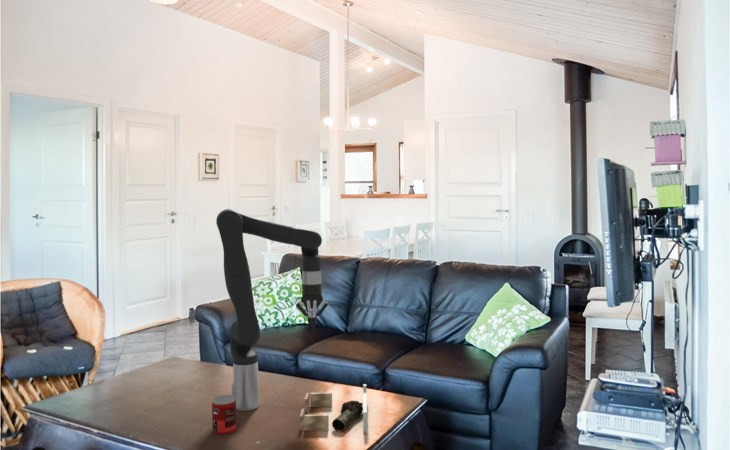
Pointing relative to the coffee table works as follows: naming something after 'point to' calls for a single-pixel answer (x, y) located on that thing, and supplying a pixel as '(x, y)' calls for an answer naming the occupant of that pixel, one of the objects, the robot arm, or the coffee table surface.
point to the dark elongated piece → (347, 415)
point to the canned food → (224, 414)
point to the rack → (364, 408)
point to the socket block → (316, 419)
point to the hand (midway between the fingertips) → (312, 326)
